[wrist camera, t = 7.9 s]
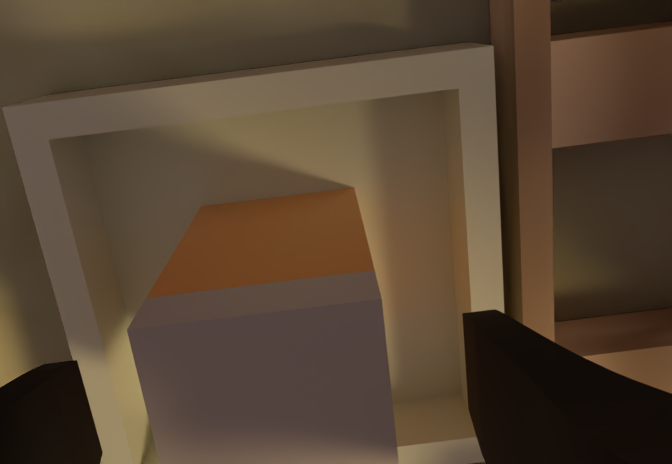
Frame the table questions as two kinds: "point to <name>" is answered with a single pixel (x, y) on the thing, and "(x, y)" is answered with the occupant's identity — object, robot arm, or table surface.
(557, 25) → the table surface
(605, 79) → the rack
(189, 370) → the block
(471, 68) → the tray
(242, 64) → the table surface
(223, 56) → the table surface
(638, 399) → the robot arm
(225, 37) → the table surface
